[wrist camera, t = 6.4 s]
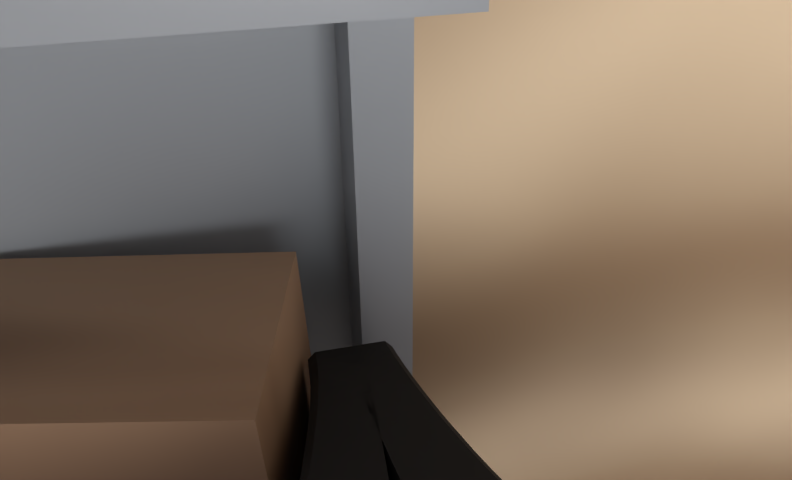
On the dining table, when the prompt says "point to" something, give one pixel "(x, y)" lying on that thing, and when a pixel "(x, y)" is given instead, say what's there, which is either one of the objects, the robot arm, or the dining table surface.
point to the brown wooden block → (153, 367)
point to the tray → (222, 141)
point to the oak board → (607, 236)
